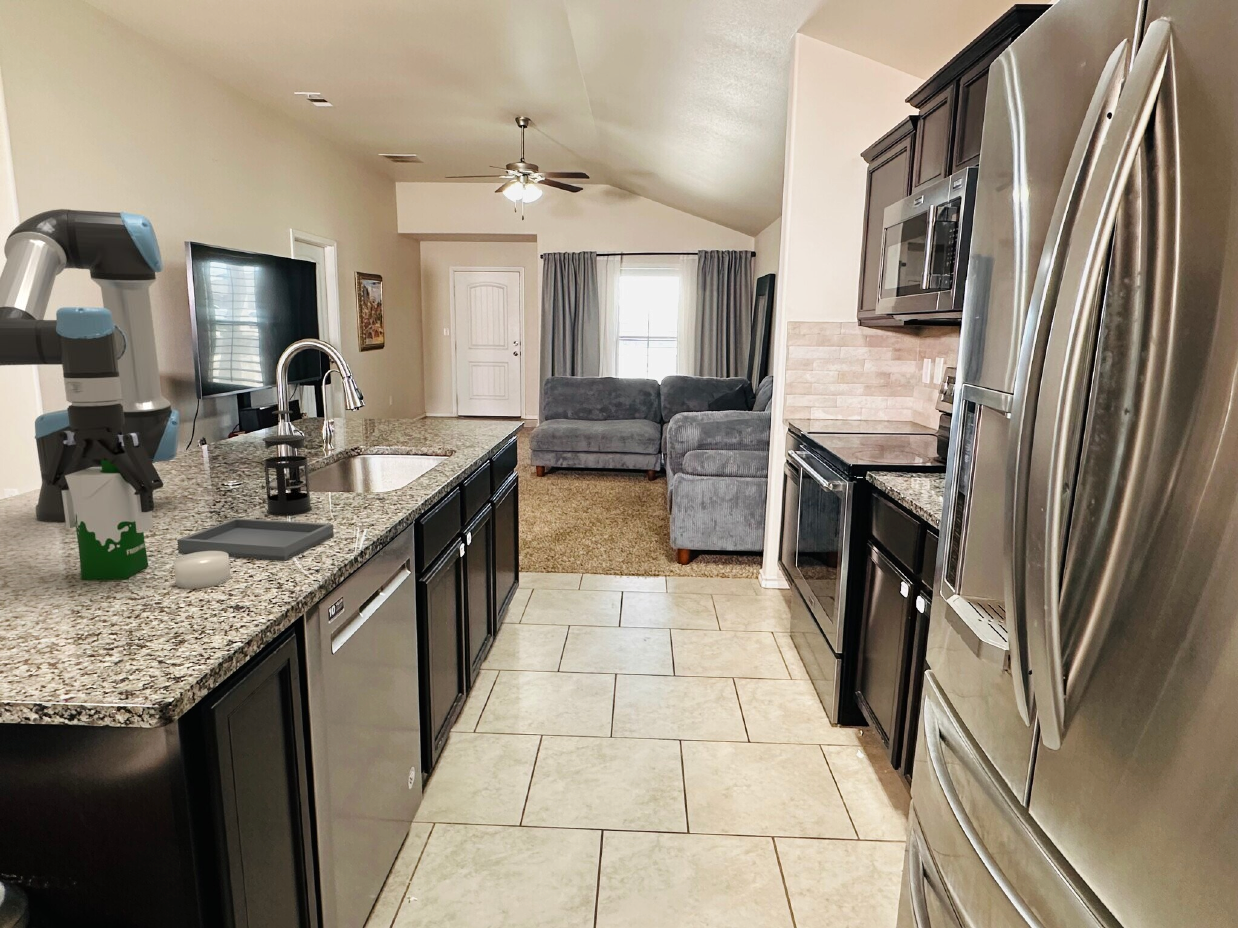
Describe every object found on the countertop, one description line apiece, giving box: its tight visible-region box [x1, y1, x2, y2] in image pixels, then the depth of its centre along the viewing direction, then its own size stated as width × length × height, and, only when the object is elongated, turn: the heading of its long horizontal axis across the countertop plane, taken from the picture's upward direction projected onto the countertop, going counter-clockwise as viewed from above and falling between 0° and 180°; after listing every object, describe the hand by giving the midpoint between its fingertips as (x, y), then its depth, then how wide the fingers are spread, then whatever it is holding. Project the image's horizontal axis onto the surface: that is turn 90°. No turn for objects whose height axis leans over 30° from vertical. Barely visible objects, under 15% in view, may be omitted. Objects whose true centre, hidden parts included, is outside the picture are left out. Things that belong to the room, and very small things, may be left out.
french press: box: [262, 410, 313, 517], centre depth 168 cm, size 12×9×23 cm
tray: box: [176, 517, 335, 561], centre depth 144 cm, size 22×16×2 cm
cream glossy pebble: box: [173, 551, 231, 589], centre depth 124 cm, size 8×8×4 cm
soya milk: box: [65, 460, 149, 581], centre depth 125 cm, size 9×9×20 cm
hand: (110, 528), depth 125 cm, fingers open, 13 cm apart
